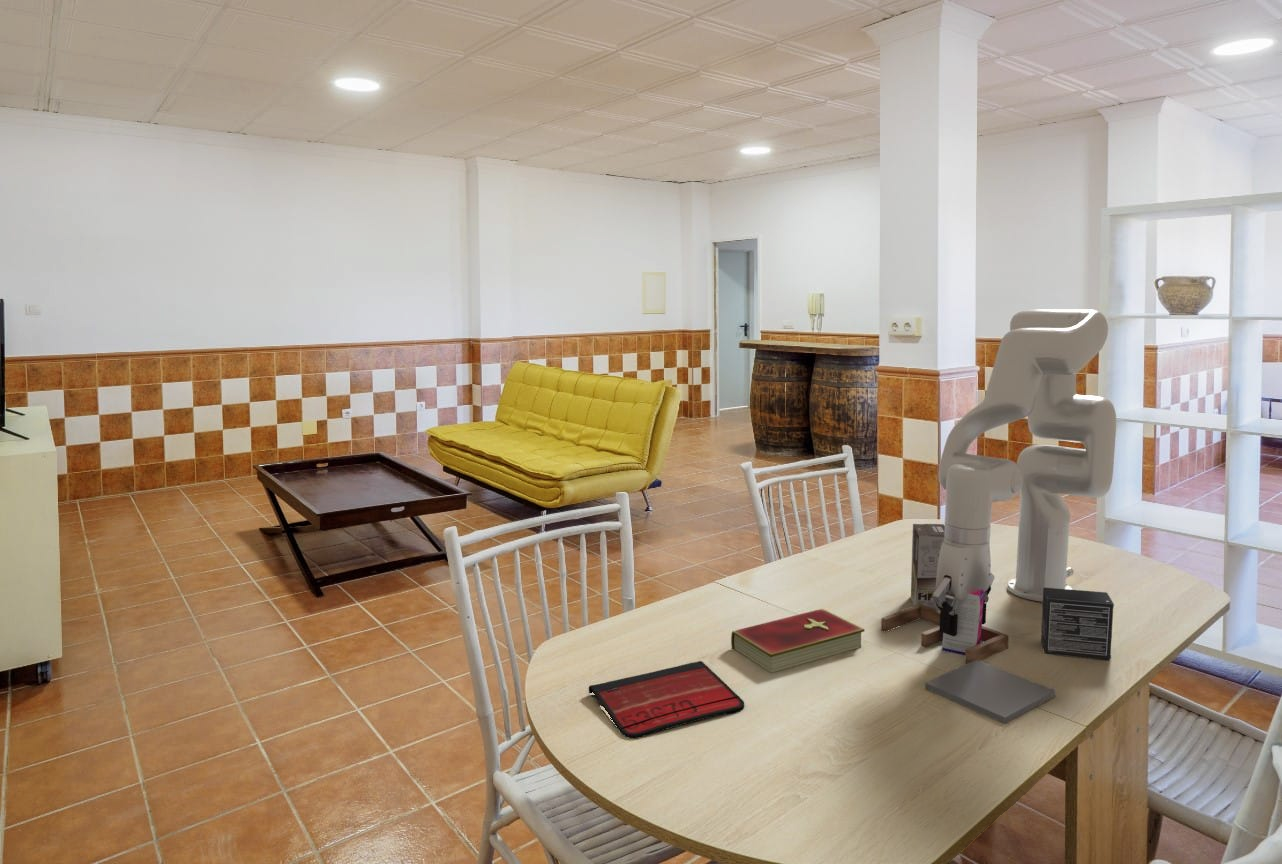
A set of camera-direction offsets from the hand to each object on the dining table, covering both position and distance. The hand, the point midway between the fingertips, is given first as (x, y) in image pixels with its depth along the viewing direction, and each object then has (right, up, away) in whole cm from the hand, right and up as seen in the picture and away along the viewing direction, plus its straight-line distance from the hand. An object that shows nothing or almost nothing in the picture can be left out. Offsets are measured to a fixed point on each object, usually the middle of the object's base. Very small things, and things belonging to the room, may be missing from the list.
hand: (962, 627), depth 149 cm
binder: (-54, -9, -16) cm, 57 cm away
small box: (+20, -4, -1) cm, 20 cm away
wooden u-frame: (-2, -3, +4) cm, 6 cm away
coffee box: (+1, -1, +21) cm, 21 cm away
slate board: (-2, -7, -16) cm, 17 cm away
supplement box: (0, -4, +1) cm, 4 cm away
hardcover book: (-29, -5, +3) cm, 30 cm away
